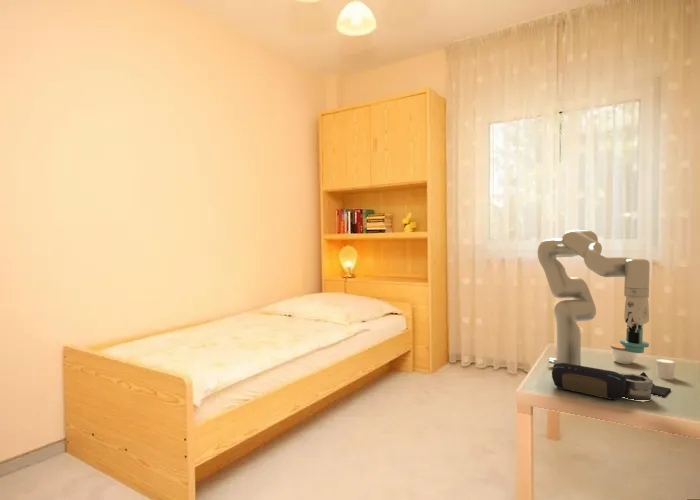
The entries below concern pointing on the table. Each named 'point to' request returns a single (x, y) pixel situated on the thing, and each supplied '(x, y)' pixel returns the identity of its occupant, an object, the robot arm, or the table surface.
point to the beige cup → (665, 368)
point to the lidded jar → (622, 354)
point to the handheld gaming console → (658, 389)
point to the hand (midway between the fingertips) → (635, 341)
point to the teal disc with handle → (632, 346)
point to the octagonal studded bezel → (638, 387)
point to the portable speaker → (589, 380)
